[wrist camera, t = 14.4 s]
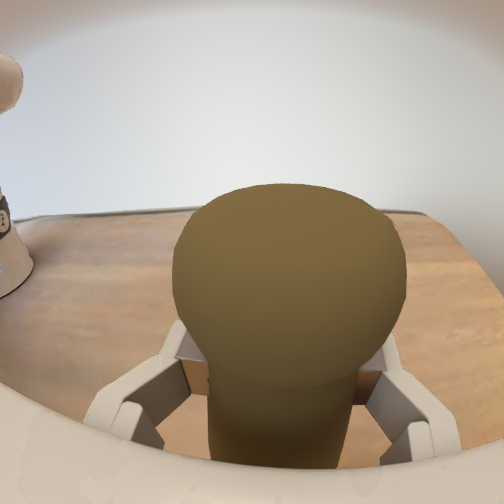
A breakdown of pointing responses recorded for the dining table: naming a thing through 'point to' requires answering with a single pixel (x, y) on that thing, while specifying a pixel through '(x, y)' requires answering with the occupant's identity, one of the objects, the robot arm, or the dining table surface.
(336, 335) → the pepper shaker
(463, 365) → the dining table surface
